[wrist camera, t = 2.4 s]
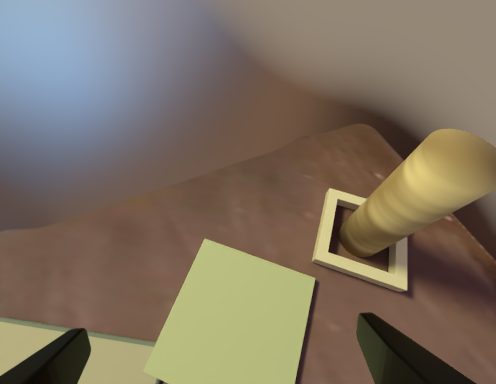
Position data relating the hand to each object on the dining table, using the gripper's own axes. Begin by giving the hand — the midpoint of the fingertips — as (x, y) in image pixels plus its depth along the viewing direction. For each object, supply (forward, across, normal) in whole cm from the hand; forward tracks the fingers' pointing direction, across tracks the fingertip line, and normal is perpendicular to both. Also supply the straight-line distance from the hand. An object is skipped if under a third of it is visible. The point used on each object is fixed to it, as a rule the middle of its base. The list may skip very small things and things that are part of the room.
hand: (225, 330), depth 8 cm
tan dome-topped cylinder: (+15, -12, +4) cm, 20 cm away
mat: (+10, 0, +9) cm, 13 cm away
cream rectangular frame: (+15, -12, +4) cm, 20 cm away
